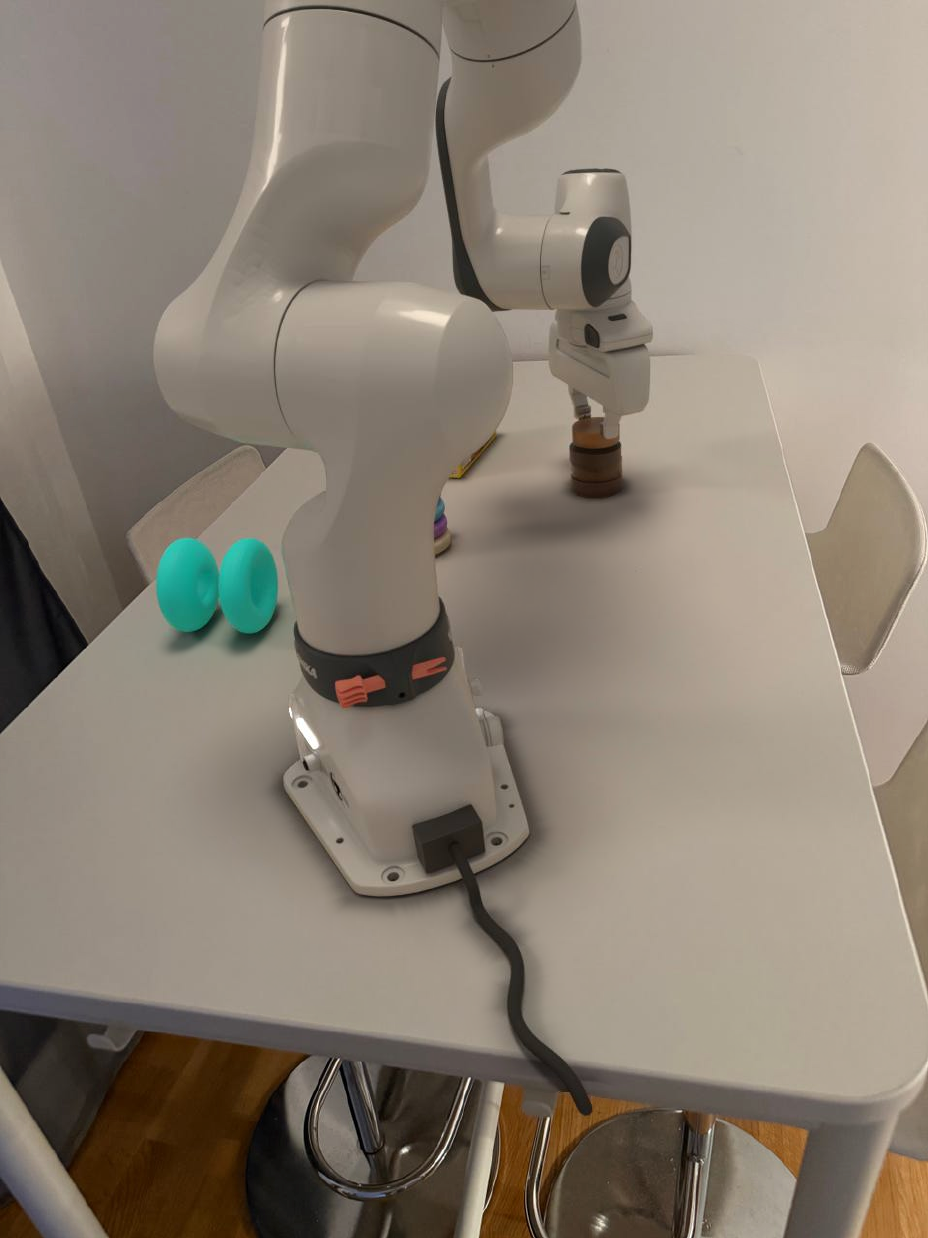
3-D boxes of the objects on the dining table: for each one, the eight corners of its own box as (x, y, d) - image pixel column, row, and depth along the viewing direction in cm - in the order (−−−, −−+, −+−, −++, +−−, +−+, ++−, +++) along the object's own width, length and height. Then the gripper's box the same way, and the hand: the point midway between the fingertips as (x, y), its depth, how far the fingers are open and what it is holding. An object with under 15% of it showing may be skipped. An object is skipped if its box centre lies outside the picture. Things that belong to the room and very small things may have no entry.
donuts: (255, 652, 94) (234, 567, 89) (167, 649, 96) (140, 566, 91) (288, 601, 102) (270, 521, 97) (206, 600, 104) (184, 521, 99)
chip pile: (633, 490, 119) (633, 447, 116) (584, 503, 117) (583, 459, 114) (607, 472, 125) (607, 430, 121) (560, 483, 123) (559, 441, 120)
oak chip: (628, 442, 116) (628, 427, 115) (585, 452, 114) (585, 437, 113) (605, 428, 121) (605, 413, 120) (564, 437, 119) (564, 422, 118)
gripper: (534, 304, 117) (539, 409, 124) (610, 340, 100) (611, 459, 108) (578, 296, 118) (581, 400, 126) (661, 330, 102) (658, 447, 109)
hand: (595, 427), depth 116 cm, fingers closed on oak chip, 6 cm apart
